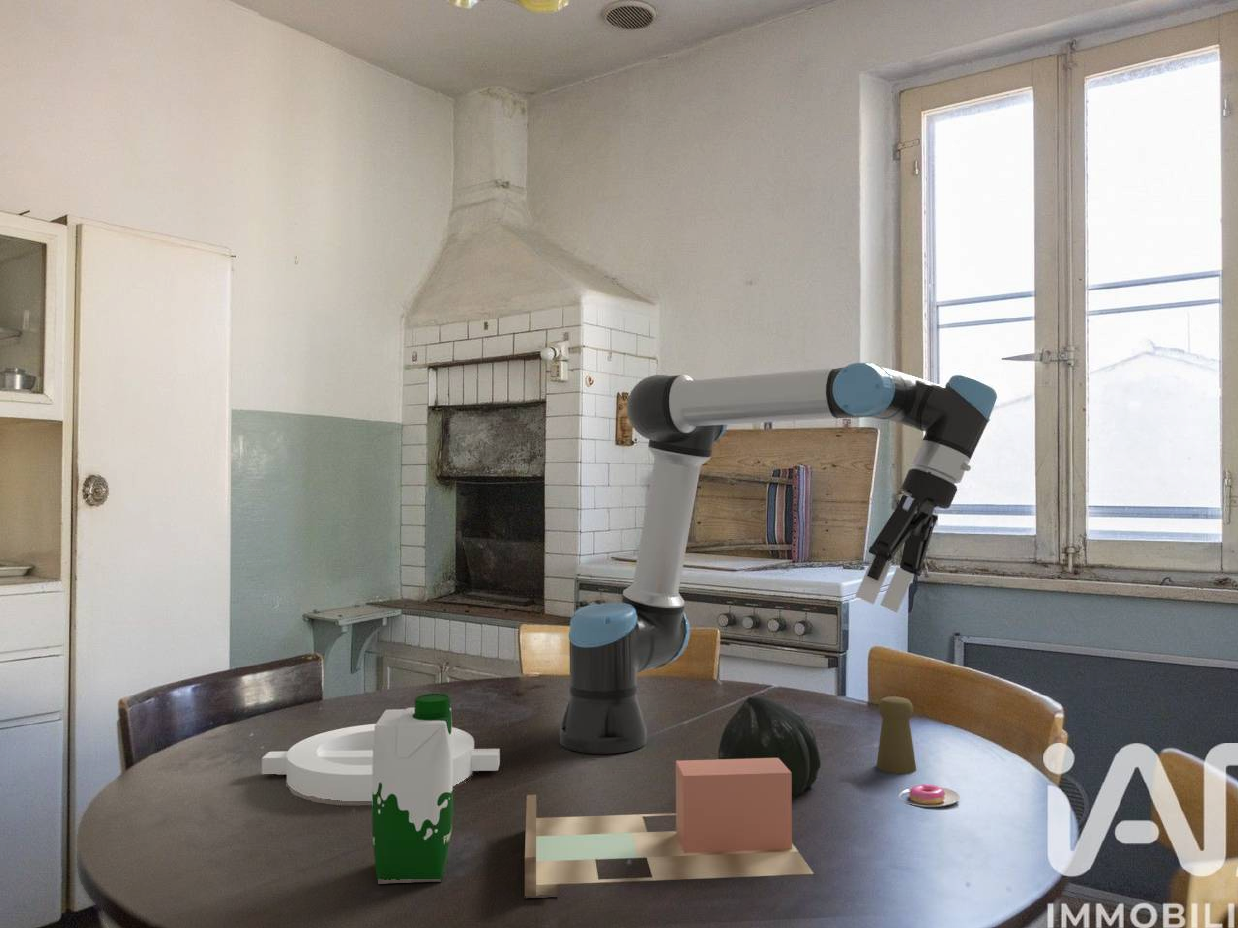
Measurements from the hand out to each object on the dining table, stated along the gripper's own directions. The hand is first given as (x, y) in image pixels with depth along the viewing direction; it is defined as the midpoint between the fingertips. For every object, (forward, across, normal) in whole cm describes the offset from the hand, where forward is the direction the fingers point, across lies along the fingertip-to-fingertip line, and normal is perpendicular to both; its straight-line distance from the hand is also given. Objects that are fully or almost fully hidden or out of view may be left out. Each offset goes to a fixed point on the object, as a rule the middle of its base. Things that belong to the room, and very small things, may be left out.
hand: (876, 604), depth 139 cm
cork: (+23, +14, -9) cm, 28 cm away
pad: (+41, -40, +8) cm, 58 cm away
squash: (+31, -7, +1) cm, 32 cm away
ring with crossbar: (+56, -29, +50) cm, 80 cm away
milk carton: (+49, -52, +21) cm, 75 cm away
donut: (+22, +3, -19) cm, 29 cm away
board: (+38, -35, +2) cm, 51 cm away
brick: (+32, -30, -4) cm, 44 cm away
